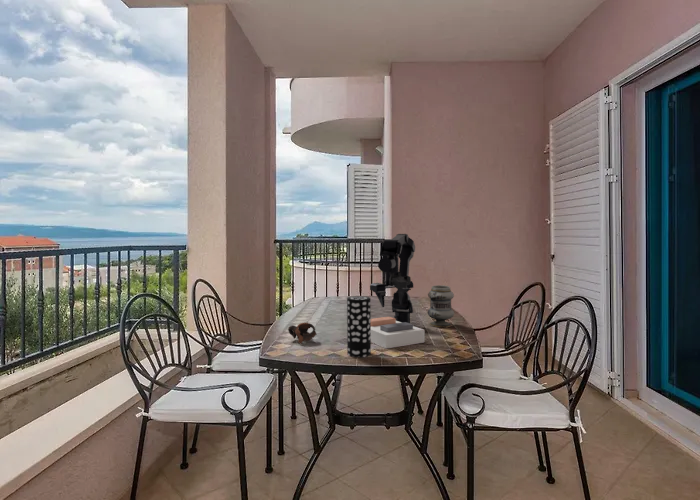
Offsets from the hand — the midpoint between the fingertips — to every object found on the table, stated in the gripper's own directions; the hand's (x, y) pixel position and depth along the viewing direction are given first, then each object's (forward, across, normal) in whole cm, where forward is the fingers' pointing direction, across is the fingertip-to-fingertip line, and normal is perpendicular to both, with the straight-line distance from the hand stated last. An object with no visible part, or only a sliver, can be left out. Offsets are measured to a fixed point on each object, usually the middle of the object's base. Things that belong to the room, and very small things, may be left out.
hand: (392, 305), depth 180 cm
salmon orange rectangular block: (+9, -6, +1) cm, 11 cm away
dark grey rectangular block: (+9, -6, -11) cm, 16 cm away
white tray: (+12, -6, -5) cm, 14 cm away
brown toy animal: (+12, -37, +9) cm, 40 cm away
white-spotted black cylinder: (+11, -27, -18) cm, 34 cm away
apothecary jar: (+13, +29, +3) cm, 32 cm away
